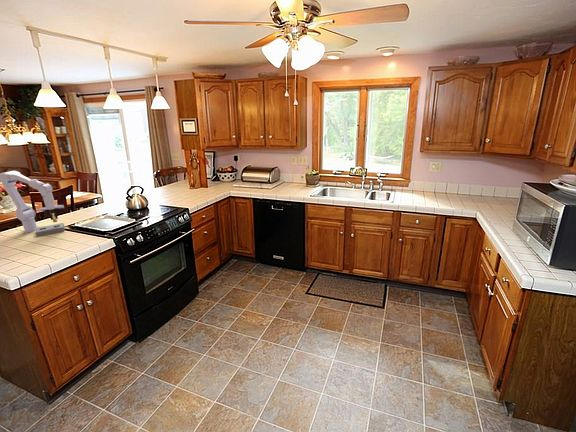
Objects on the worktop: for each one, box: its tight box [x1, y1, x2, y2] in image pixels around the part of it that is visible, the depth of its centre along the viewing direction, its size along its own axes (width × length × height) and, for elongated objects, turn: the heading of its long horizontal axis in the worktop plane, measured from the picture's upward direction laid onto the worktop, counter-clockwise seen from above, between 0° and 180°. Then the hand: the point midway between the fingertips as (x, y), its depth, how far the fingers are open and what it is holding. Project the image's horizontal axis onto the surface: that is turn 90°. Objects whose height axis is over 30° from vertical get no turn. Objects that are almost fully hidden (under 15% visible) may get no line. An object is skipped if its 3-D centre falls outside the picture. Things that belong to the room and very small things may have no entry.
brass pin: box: [51, 212, 58, 223], centre depth 215 cm, size 2×2×6 cm
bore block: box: [34, 222, 65, 237], centre depth 216 cm, size 12×16×3 cm
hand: (54, 219), depth 215 cm, fingers closed on brass pin, 2 cm apart
